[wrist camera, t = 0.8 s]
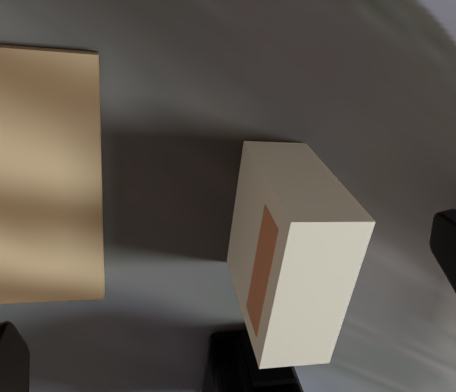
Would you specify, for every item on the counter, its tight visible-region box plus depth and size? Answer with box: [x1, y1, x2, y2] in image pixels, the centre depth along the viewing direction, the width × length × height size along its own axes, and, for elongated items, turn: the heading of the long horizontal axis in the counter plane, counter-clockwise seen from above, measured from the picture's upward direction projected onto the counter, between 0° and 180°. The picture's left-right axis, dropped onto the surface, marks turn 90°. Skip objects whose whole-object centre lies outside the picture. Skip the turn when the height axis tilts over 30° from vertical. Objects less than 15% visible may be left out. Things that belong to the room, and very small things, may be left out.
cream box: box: [227, 141, 375, 369], centre depth 22 cm, size 8×4×8 cm, turn 173°
